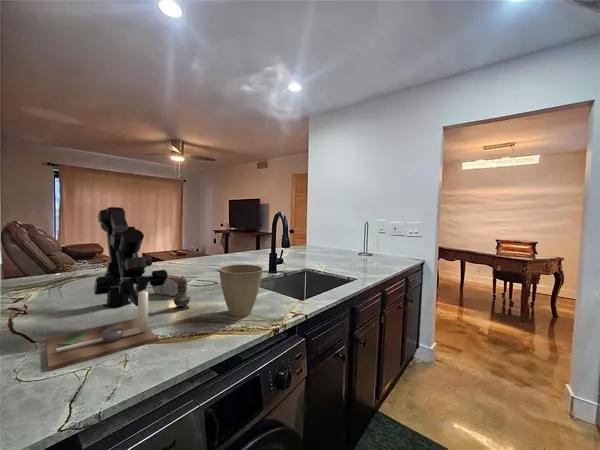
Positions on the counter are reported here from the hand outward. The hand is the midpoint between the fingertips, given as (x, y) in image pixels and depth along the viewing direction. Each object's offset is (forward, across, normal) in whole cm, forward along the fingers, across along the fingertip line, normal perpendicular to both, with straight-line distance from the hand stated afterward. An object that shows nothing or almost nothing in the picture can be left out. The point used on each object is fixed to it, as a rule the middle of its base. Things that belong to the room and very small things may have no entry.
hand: (138, 305), depth 79 cm
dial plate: (+7, -9, +4) cm, 12 cm away
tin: (-16, +18, +26) cm, 35 cm away
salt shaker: (-2, +16, +12) cm, 21 cm away
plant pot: (+10, +30, 0) cm, 32 cm away
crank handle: (+8, -8, 0) cm, 12 cm away
